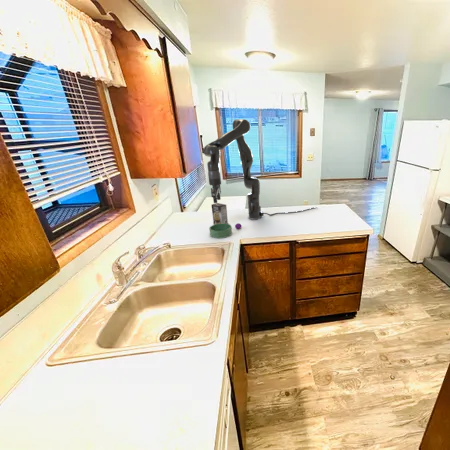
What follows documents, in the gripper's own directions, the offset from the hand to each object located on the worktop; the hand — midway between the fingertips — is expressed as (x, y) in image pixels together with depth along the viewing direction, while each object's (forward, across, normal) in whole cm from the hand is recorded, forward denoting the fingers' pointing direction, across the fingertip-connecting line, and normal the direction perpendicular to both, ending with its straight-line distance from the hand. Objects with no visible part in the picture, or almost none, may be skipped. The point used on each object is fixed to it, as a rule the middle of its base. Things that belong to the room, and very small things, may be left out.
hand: (217, 201), depth 162 cm
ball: (+20, +3, -12) cm, 23 cm away
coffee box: (+22, +12, +3) cm, 25 cm away
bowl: (+22, -7, -2) cm, 23 cm away
